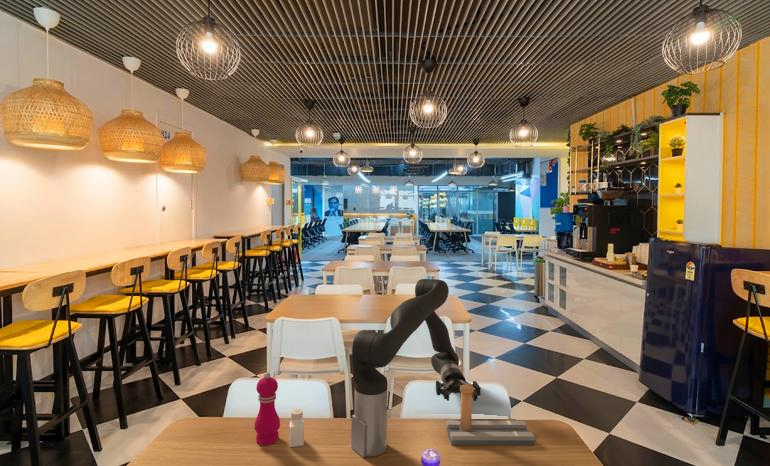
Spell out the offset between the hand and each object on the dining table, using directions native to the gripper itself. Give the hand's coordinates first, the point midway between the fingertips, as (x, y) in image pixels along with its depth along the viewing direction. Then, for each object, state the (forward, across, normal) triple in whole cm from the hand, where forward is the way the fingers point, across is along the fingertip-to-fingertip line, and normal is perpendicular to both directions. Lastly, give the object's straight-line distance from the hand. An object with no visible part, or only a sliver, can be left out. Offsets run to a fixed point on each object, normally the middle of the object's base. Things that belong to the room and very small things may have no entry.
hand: (461, 397), depth 134 cm
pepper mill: (+8, -58, +9) cm, 60 cm away
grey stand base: (+7, +7, +9) cm, 13 cm away
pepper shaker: (+10, -49, +9) cm, 51 cm away
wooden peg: (+7, 0, +7) cm, 10 cm away
